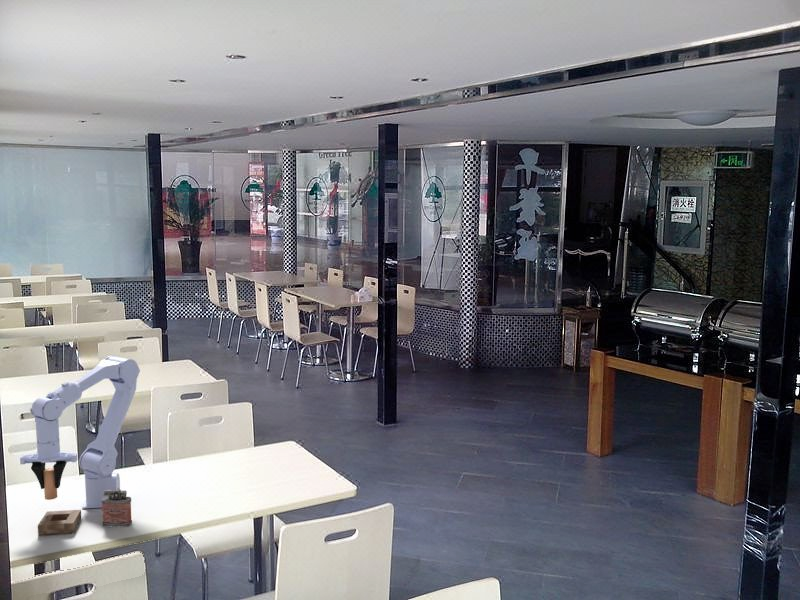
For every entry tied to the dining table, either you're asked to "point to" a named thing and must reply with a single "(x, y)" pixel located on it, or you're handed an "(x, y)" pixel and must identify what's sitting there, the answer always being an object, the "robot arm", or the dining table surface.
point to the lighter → (116, 508)
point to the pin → (49, 484)
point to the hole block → (59, 522)
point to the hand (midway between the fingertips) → (50, 487)
